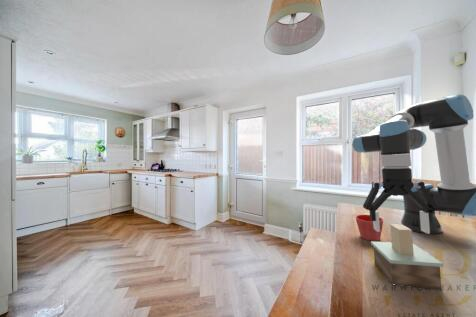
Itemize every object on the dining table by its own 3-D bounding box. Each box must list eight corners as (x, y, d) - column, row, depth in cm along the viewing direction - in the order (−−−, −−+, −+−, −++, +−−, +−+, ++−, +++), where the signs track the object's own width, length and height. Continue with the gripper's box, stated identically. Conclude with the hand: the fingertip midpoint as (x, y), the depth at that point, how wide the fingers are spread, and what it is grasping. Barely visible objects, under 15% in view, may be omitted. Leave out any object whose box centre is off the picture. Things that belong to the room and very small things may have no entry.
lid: (413, 248, 65) (410, 220, 66) (443, 270, 53) (440, 235, 53) (371, 246, 69) (369, 220, 69) (390, 266, 56) (388, 233, 56)
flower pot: (386, 244, 82) (384, 222, 82) (357, 240, 88) (355, 219, 88) (382, 235, 91) (381, 215, 91) (356, 232, 97) (355, 213, 97)
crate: (413, 266, 65) (412, 246, 65) (441, 289, 53) (439, 265, 53) (374, 263, 68) (373, 244, 68) (393, 285, 56) (391, 262, 56)
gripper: (433, 165, 62) (437, 228, 61) (350, 168, 68) (354, 225, 67) (452, 166, 54) (458, 237, 54) (358, 169, 61) (362, 233, 60)
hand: (400, 231), depth 61 cm, fingers open, 13 cm apart
